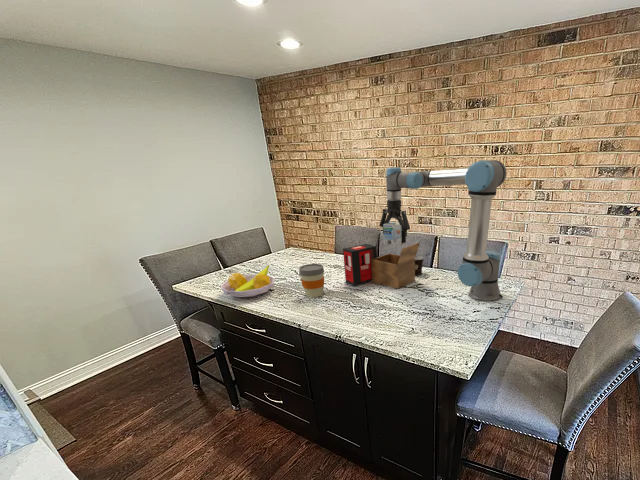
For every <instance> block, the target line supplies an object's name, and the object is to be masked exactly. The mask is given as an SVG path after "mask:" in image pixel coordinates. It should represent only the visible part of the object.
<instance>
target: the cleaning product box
mask: <svg viewBox="0 0 640 480" xmlns="http://www.w3.org/2000/svg"><path fill="white" fill-rule="evenodd" d="M342 253H343V255H342V256H343V266H344V278H345V283H346V284H348V285H350V286H353V287H356V286H357V287H358V286H360V285H364V284H367V283H370V282H372V265H371V260H372V259H375V258H377V246H376V245H374V244H369V243H364V244H363V243H362V244H359V245H354V246H349V247H345V248H342Z"/></svg>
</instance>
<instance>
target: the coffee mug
mask: <svg viewBox="0 0 640 480" xmlns="http://www.w3.org/2000/svg"><path fill="white" fill-rule="evenodd" d="M423 263H424V257H423V256H420V255H416V257H415V276H421V275H422V270H423Z"/></svg>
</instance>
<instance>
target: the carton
mask: <svg viewBox="0 0 640 480" xmlns="http://www.w3.org/2000/svg"><path fill="white" fill-rule="evenodd" d="M399 257H400V255H399V254H394V253H387V254H383V255H380V256H378V257H377V258H375V259H372V260H371V265H372V281H371V282H372V283H374V284H378V285H382V286H386V287H388V288H389V287H390V288H393V289H397V290H399V289H401V288H403V287H405V286H407V285H410V284H411V283H414V282H416V275H415V258H412V259H410V260H407V261H405V262H402V263H400V264H398V260H399Z"/></svg>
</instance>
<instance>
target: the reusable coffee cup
mask: <svg viewBox="0 0 640 480" xmlns="http://www.w3.org/2000/svg"><path fill="white" fill-rule="evenodd" d="M298 271H299V273H298V274H299V276H300V281H301V286H302V288H303V289H304V293H305V296H306V297H307V298H319V297H321V296H323V295H324V286H325V275H324V274H325V269H324V265H323V264H322V263H321V264H320V263H309V264H303V265H301V266H299V268H298Z"/></svg>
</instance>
